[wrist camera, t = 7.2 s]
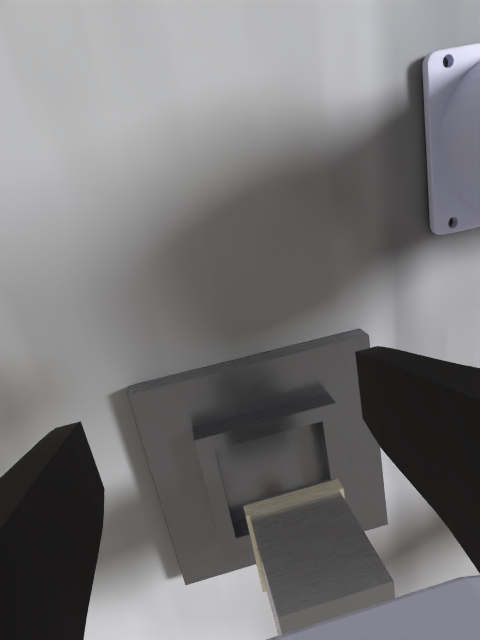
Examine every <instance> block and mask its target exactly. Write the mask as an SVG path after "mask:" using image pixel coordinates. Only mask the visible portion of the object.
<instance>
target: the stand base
mask: <svg viewBox="0 0 480 640" xmlns="http://www.w3.org/2000/svg"><path fill="white" fill-rule="evenodd" d="M368 348H370V342H369V335H368V334H367V333H365V332H364V331H363V330H361V329H357V330H353V331H349V332H345V333H341V334H337V335H333V336H329V337H325V338H321V339H317V340H313V341H309V342H305V343H301V344H297V345H293V346H289V347H285V348H281V349H277V350H273V351H269V352H264V353H260V354H256V355H252V356H248V357H244V358H240V359H236V360H232V361H228V362H224V363H220V364H216V365H212V366H208V367H204V368H200V369H196V370H192V371H188V372H184V373H180V374H176V375H172V376H168V377H164V378H160V379H156V380H152V381H148V382H144V383H140V384H136V385H132V386H129V390H128V398H129V401H130V404H131V408H132V411H133V414H134V417H135V421H136V424H137V427H138V431H139V434H140V437H141V440H142V444H143V447H144V450H145V454H146V457H147V460H148V463H149V467H150V470H151V473H152V477H153V480H154V483H155V486H156V490H157V493H158V496H159V500H160V503H161V506H162V509H163V513H164V516H165V519H166V523H167V526H168V529H169V532H170V536H171V539H172V542H173V546H174V549H175V552H176V555H177V559H178V562H179V565H180V569H181V572H182V575H183V578H184V582H185V585H188V584H192V583H195V582H198V581H201V580H205V579H208V578H211V577H215V576H218V575H221V574H225V573H228V572H231V571H235V570H238V569H241V568H244V567H248V566H251V565H254V564H256V560H255V555H254V551H253V547H252V542H251V538H250V534H249V529H248V525H247V521H246V516H245V512H244V508H243V506H245V505H246V503H247V502H251V501H254V500H258V499H261V498H265V497H268V496H272V495H275V494H279V493H282V492H286V491H289V490H293V489H296V488H300V487H303V486H307V485H310V484H314V483H317V482H321V481H324V480H328V479H331V478H332V479H333V480H336V479H338V480H339V482H340V483H341V485H342V487H343V488H344V496H345V501H346V502H347V504H348V506H349V507H350V509H351V511H352V512H353V514H354V516H355V518H356V519H357V521H358V523H359V524H360V526H361V528H362V529H363V531H367V530H370V529H373V528H377V527H380V526H383V525H387V524H388V522H387V512H386V502H385V492H384V482H383V472H382V462H381V452H380V446H379V444H378V443H377V441H376V439H375V438H374V436H373V435H372V433H371V432H370V430H369V428H368V427H367V425H366V423H365V422H364V420H363V418H362V409H361V400H360V391H359V382H358V373H357V365H356V356H355V352H356V351H360V350H364V349H368Z"/></svg>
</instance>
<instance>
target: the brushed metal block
mask: <svg viewBox="0 0 480 640" xmlns="http://www.w3.org/2000/svg"><path fill="white" fill-rule="evenodd" d="M243 508H244V512H245V516H246V521H247V525H248V529H249V534H250V538H251V542H252V547H253V551H254V555H255V560H256V564H257V568H258V573H259V577H260V581H261V585H262V589H263V592H265V591H267V594H268V597H269V601H270V605H271V608H272V612H273V616H274V620H275V623H276V627H277V631H278V634H279V635H282V634H286V633H289V632H292V631H295V630H298V629H301V628H304V627H307V626H310V625H313V624H317V623H320V622H323V621H326V620H329V619H332V618H335V617H338V616H341V615H344V614H348V613H351V612H354V611H357V610H360V609H363V608H366V607H369V606H372V605H375V604H379V603H382V602H385V601H388V600H391V599H394V598H395V593H394V583H393V580H392V578H391V576H390V575H389V573H388V571H387V570H386V568H385V566H384V565H383V563H382V561H381V560H380V558H379V556H378V555H377V553H376V551H375V550H374V548H373V546H372V544H371V543H370V541H369V539H368V538H367V536H366V534H365V533H364V531H363V529H362V528H361V526H360V524H359V523H358V521H357V519H356V518H355V516H354V514H353V512H352V511H351V509H350V507H349V506H348V504H347V502H346V501H345V496H344V488H343V487H342V485H341V483H340V482H339V480H338V479H336V480H333V479H332V478H331V479H328V480H324V481H321V482H317V483H314V484H310V485H307V486H303V487H300V488H296V489H293V490H289V491H286V492H282V493H279V494H275V495H272V496H268V497H265V498H261V499H258V500H254V501H251V502H247V503H246V505H245V506H243Z"/></svg>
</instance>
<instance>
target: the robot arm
mask: <svg viewBox="0 0 480 640" xmlns="http://www.w3.org/2000/svg"><path fill="white" fill-rule="evenodd" d="M444 57H446V58H447V59H448V66H447V68H445V67H444V66H443V58H444ZM422 68H423V89H424V110H425V131H426V152H427V173H428V194H429V215H430V228H431V231H432V232H433V233H435V234H437V235H445V234H450V233H454V232H459V231H463V230H467V229H472V228H476V227H480V43H475V44H469V45H464V46H458V47H453V48H447V49H441V50H436V51H434V52H432V53H429V54H428V55H427V56H426V57H425V59H424V61H423V66H422ZM450 218H452V219H453V224H452V225H451V226H450V227H449V225H448V222H449V220H450ZM355 356H356V365H357V373H358V382H359V391H360V400H361V409H362V418H363V420H364V422H365V423H366V425H367V427H368V428H369V430H370V432H371V433H372V435H373V436H374V438H375V439H376V441H377V443H378V444H379V446H380V447H381V448H382V450H383V451H384V452H385V453H386V454H387V456H388V457H389V458H390V459H391V460H392V462H393V463H394V464H395V465H396V466H397V467H398V469H399V470H400V471H401V472H402V473H403V474H404V476H405V477H406V478H407V479H408V480H409V481H410V483H411V484H412V485H413V486H414V487H415V488H416V490H417V491H418V492H419V493H420V494H421V495H422V496H423V498H424V499H425V500H426V501H427V502H428V503H429V505H430V506H431V507H432V508H433V509H434V510H435V512H436V513H437V514H438V515H439V517H440V518H441V519H442V520H443V522H444V523H445V524H446V525H447V527H448V528H449V529H450V531H451V532H452V534H453V535H454V537H455V538H456V540H457V541H458V542H459V544H460V545H461V547H462V548H463V550H464V551H465V552H466V554H467V555H468V557H469V558H470V560H471V561H472V562H473V564H474V565H475V567H476V568H477V570H478V572H479V573H480V368H476V367H471V366H465V365H460V364H456V363H451V362H447V361H443V360H438V359H434V358H430V357H426V356H422V355H418V354H414V353H410V352H405V351H401V350H397V349H392V348H387V347H379V346H376V347H372V348H368V349H364V350H360V351H356V352H355ZM103 517H104V486H103V484H102V481H101V478H100V475H99V472H98V469H97V466H96V464H95V461H94V458H93V455H92V452H91V449H90V446H89V444H88V441H87V438H86V435H85V432H84V429H83V426H82V424H81V422H77V423H73V424H69V425H65V426H62V427H58V428H55V429H54V430H52V431H51V432H50V433H48V434H47V435H46V436H45V437H44V438H43V439H42V440H40V441H39V442H38V443H37V444H36V445H35V446H34V447H33V448H32V449H31V450H30V451H29V452H28V453H27V454H25V455H24V456H23V457H22V458H21V459H20V460H19V461H18V462H17V463H16V464H15V465H14V466H13V467H12V468H11V469H9V470H8V471H7V472H6V473H5V474H4V475H3V476H2V477H1V478H0V640H83V639H84V632H85V624H86V617H87V612H88V606H89V601H90V596H91V590H92V585H93V579H94V574H95V569H96V563H97V558H98V552H99V547H100V541H101V535H102V529H103ZM267 640H480V575H478V576H468V577H459V578H456V579H453V580H450V581H447V582H444V583H441V584H437V585H434V586H431V587H428V588H425V589H422V590H419V591H416V592H413V593H410V594H406V595H403V596H400V597H397V598H394V599H391V600H388V601H385V602H382V603H379V604H375V605H372V606H369V607H366V608H363V609H360V610H357V611H354V612H351V613H348V614H344V615H341V616H338V617H335V618H332V619H329V620H326V621H323V622H320V623H317V624H313V625H310V626H307V627H304V628H301V629H298V630H295V631H292V632H289V633H286V634H282V635H279V636H276V637H273V638H270V639H267Z"/></svg>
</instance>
